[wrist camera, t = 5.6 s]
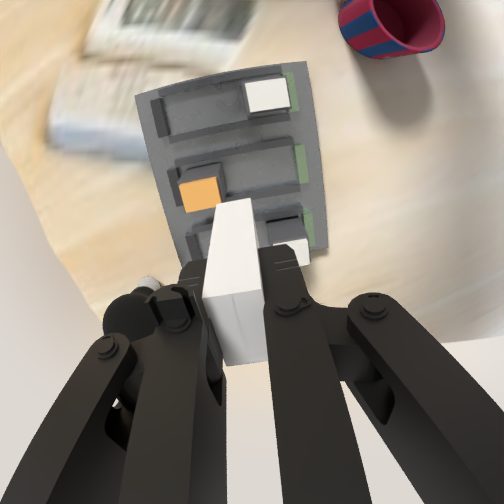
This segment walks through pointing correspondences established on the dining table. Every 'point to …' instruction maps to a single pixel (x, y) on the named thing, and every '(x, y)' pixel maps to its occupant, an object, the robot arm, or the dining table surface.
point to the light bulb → (131, 312)
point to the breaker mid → (202, 187)
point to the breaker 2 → (290, 237)
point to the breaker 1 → (266, 95)
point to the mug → (392, 26)
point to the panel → (236, 153)
